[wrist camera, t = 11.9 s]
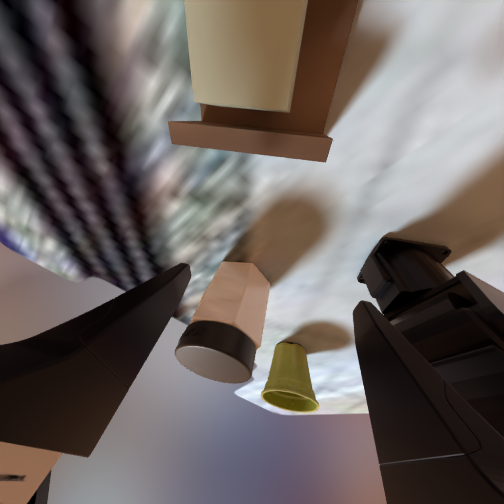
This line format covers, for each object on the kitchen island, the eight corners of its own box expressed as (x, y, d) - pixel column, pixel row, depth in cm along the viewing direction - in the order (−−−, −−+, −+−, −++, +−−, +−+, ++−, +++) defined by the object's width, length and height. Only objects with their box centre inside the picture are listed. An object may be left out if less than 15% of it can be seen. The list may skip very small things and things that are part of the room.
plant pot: (289, 331, 33) (288, 387, 26) (325, 354, 35) (331, 411, 28) (258, 344, 38) (250, 394, 31) (290, 364, 40) (289, 414, 33)
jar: (226, 249, 24) (180, 332, 15) (279, 274, 25) (268, 369, 15) (209, 286, 30) (168, 364, 20) (253, 306, 30) (233, 390, 21)
